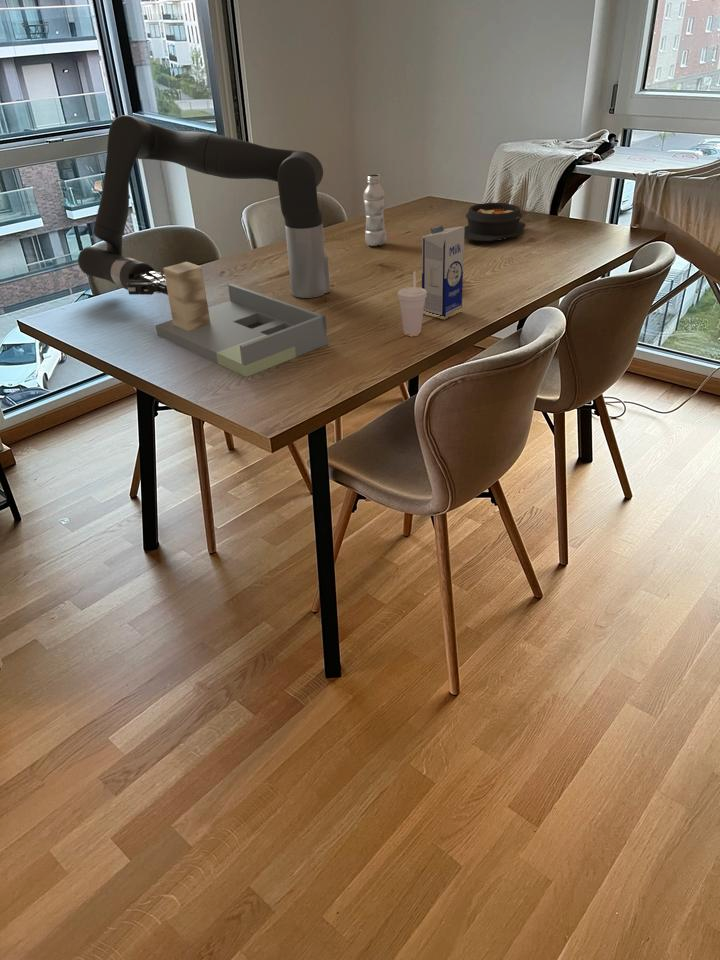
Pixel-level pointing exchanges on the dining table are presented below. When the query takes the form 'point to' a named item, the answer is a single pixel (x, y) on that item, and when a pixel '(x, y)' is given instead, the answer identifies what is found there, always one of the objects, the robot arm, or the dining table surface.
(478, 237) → the casserole
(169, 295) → the maple block
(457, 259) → the milk carton
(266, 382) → the dining table surface
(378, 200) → the plastic bottle
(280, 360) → the trap deck
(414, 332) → the smoothie
